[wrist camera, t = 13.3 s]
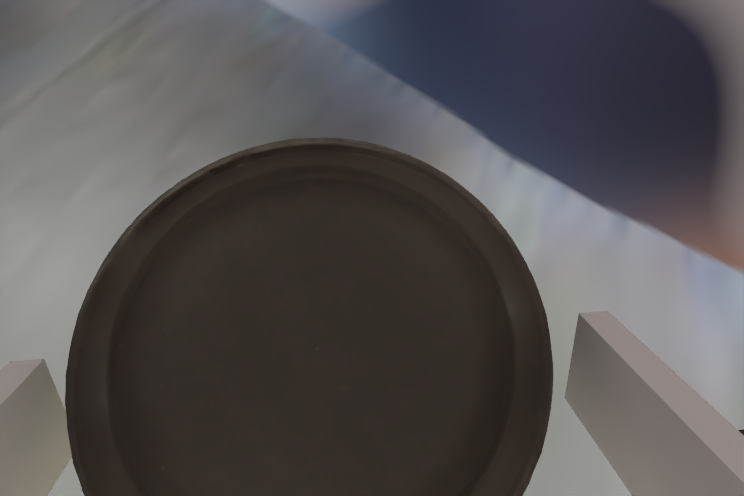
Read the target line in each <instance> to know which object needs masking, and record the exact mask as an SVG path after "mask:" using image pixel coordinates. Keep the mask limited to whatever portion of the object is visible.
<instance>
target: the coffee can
mask: <svg viewBox="0 0 744 496" xmlns="http://www.w3.org/2000/svg"><path fill="white" fill-rule="evenodd" d="M552 390H553V361H552V351H551V342H550V333H549V328H548V322H547V316H546V313H545V309H544V306H543V303H542V300H541V297H540V294H539V291H538V289H537V286H536V283H535V281H534V278H533V276H532V274H531V272H530V270H529V268H528V266H527V264H526V262H525V260H524V258H523V257H522V255H521V253H520V251H519V250H518V248H517V246H516V245H515V243H514V241H513V240H512V238H511V237H510V236H509V234H508V233H507V231H506V230H505V229H504V228H503V226H502V225H501V224H500V223H499V221H498V220H497V219H496V218H495V216H494V215H493V214H492V213H491V212H490V211H489V210H488V209H487V208H486V207H485V206H484V205H483V204H482V203H481V202H480V201H479V200H478V199H477V198H476V197H475V196H473V195H472V194H471V193H470V192H469V191H467V190H466V189H465V188H464V187H462V186H461V185H460V184H459V183H457V182H456V181H455V180H453V179H452V178H450V177H449V176H448V175H446V174H445V173H443V172H441V171H439V170H437V169H436V168H434V167H432V166H430V165H429V164H427V163H425V162H423V161H420V160H418V159H416V158H414V157H412V156H410V155H407V154H404V153H401V152H398V151H396V150H393V149H390V148H387V147H384V146H380V145H376V144H371V143H367V142H361V141H355V140H347V139H339V138H304V139H291V140H284V141H278V142H273V143H269V144H265V145H261V146H257V147H253V148H250V149H246V150H244V151H241V152H238V153H235V154H232V155H229V156H227V157H224V158H222V159H220V160H218V161H215V162H213V163H211V164H209V165H207V166H205V167H203V168H201V169H199V170H198V171H196V172H194V173H193V174H191V175H190V176H188V177H187V178H185V179H183V180H182V181H180V182H179V183H177V184H176V185H175V186H174V187H172V188H171V189H169V190H168V191H166V192H165V193H164V194H162V195H161V196H160V197H159V198H157V199H156V200H155V201H154V202H153V203H152V204H151V205H149V206H148V207H147V208H146V209H145V210H144V211H143V212H142V213H141V214H140V215H139V216H138V217H137V218H136V219H135V220H134V222H133V223H132V224H131V225H130V226H129V227H128V228H127V229H126V230H125V232H124V233H123V234H122V235H121V237H120V238H119V239H118V241H117V242H116V244H115V245H114V246H113V248H112V249H111V251H110V252H109V254H108V255H107V257H106V258H105V260H104V261H103V263H102V265H101V267H100V268H99V270H98V272H97V274H96V276H95V278H94V280H93V282H92V284H91V286H90V287H89V289H88V291H87V294H86V296H85V299H84V301H83V304H82V306H81V309H80V311H79V314H78V317H77V321H76V325H75V329H74V333H73V337H72V342H71V347H70V352H69V359H68V365H67V372H66V395H65V406H66V415H67V430H68V436H69V442H70V448H71V453H72V459H73V464H74V467H75V470H76V472H77V475H78V478H79V481H80V483H81V486H82V491H83V493H84V495H85V496H522V495H523V493H524V492H525V490H526V488H527V486H528V484H529V482H530V479H531V477H532V474H533V471H534V469H535V467H536V464H537V462H538V459H539V457H540V455H541V452H542V448H543V444H544V440H545V436H546V432H547V427H548V421H549V416H550V410H551V401H552Z"/></svg>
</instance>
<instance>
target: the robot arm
mask: <svg viewBox="0 0 744 496" xmlns="http://www.w3.org/2000/svg"><path fill="white" fill-rule="evenodd" d="M565 399H566V400H567V402H568V403H569V404H570V406H571V407H572V409H573V410H574V412H575V413H576V415H577V416H578V418H579V419H580V420H581V422H582V423H583V425H584V426H585V428H586V429H587V431H588V432H589V433H590V435H591V436H592V438H593V439H594V441H595V442H596V444H597V445H598V447H599V448H600V449H601V451H602V452H603V454H604V455H605V457H606V458H607V460H608V461H609V462H610V464H611V465H612V467H613V468H614V470H615V471H616V473H617V474H618V476H619V477H620V478H621V480H622V481H623V483H624V484H625V486H626V487H627V489H628V490H629V492H630V493H631V494H632V496H744V430H737V429H736V428H735V427H734V426H733V425H732V424H731V423H730V422H728V421H727V420H726V419H725V418H724V417H723V416H722V415H721V414H720V413H719V412H718V411H716V410H715V409H714V408H713V407H712V406H711V405H710V404H709V403H708V402H707V401H706V400H704V399H703V398H702V397H701V396H700V395H699V394H698V393H697V392H696V391H695V390H694V389H692V388H691V387H690V386H689V385H688V384H687V383H686V382H685V381H684V380H683V379H682V378H680V377H679V376H678V375H677V374H676V373H675V372H674V371H673V370H672V369H671V368H670V367H668V366H667V365H666V364H665V363H664V362H663V361H662V360H661V359H660V358H659V357H658V356H656V355H655V354H654V353H653V352H652V351H651V350H650V349H649V348H648V347H647V346H646V345H644V344H643V343H642V342H641V341H640V340H639V339H638V338H637V337H636V336H635V335H633V334H632V333H631V332H630V331H629V330H628V329H627V328H626V327H625V326H624V325H623V324H621V323H620V322H619V321H618V320H617V319H616V318H615V317H614V316H613V315H612V314H611V313H609V312H608V311H601V312H589V313H579V316H578V322H577V328H576V334H575V340H574V346H573V352H572V358H571V364H570V370H569V376H568V382H567V388H566V394H565ZM71 457H72V453H71V448H70V442H69V436H68V430H67V415H66V411H65V409H64V407H63V404H62V402H61V399H60V397H59V394H58V392H57V390H56V387H55V385H54V382H53V380H52V377H51V375H50V373H49V370H48V368H47V365H46V363H45V360H44V359H39V360H27V361H15V362H10V363H8V364H7V365H6V366H5V367H4V368H3V369H2V370H1V371H0V496H47V495H48V493H49V492H50V490H51V488H52V487H53V485H54V484H55V482H56V481H57V479H58V478H59V476H60V474H61V473H62V471H63V470H64V468H65V467H66V465H67V464H68V462H69V460H70V459H71Z"/></svg>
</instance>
